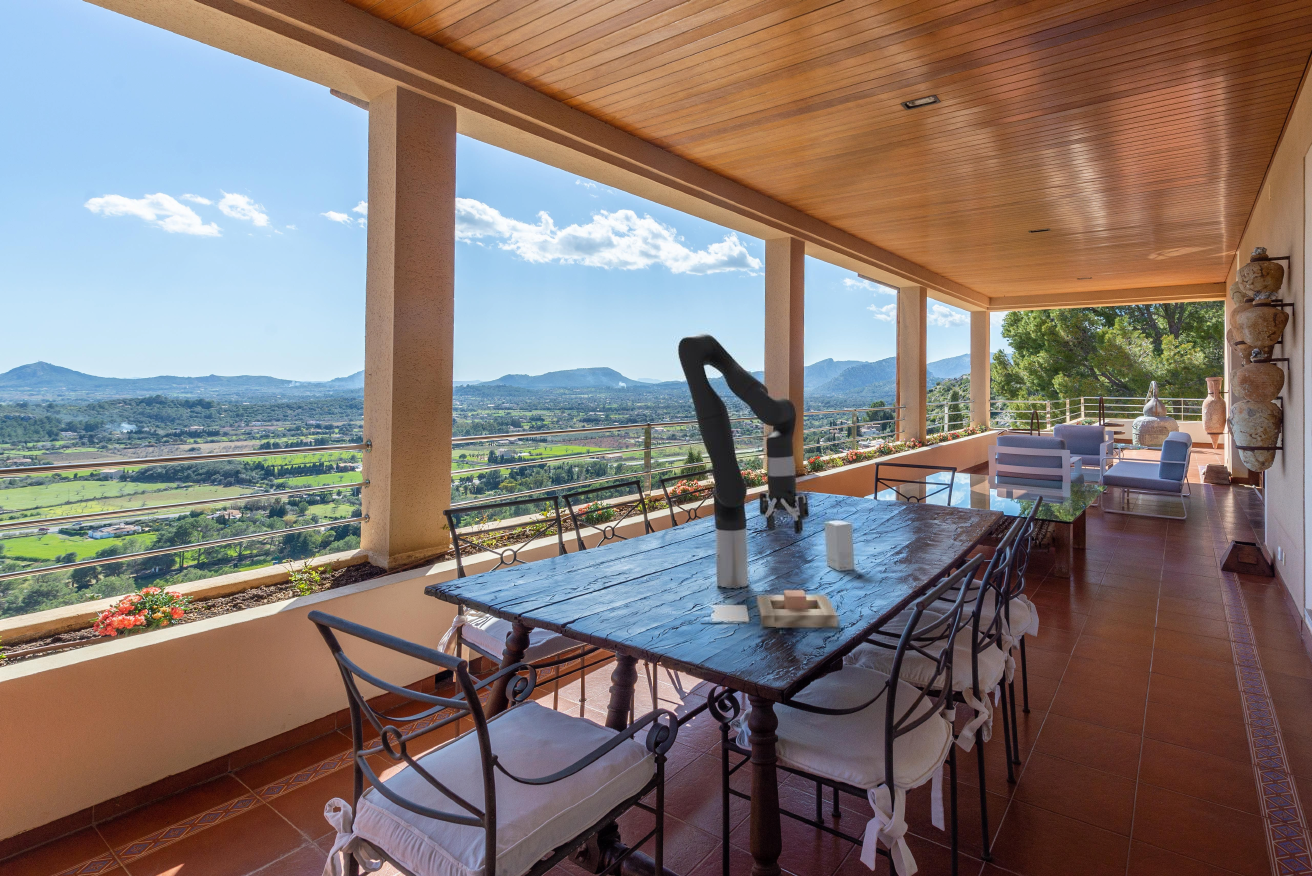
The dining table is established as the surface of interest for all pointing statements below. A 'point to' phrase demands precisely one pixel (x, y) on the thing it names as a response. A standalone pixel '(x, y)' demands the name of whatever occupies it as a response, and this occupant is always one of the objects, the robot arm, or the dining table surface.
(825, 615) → the pocket plate
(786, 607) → the block
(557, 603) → the dining table surface
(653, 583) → the dining table surface
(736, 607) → the mat
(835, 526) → the skincare box
